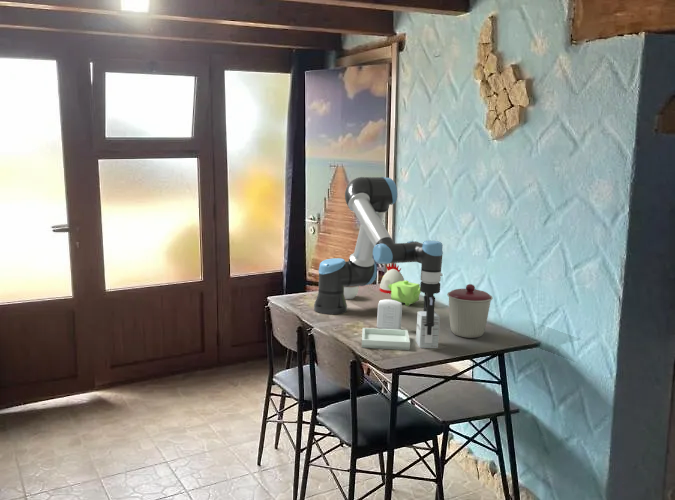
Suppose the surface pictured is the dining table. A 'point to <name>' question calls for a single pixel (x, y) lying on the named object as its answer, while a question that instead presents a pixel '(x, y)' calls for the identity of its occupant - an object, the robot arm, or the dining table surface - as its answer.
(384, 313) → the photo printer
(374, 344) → the tray
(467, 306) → the canister
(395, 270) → the kitchen timer
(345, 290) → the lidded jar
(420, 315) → the supplement box
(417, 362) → the dining table surface
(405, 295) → the kettle
